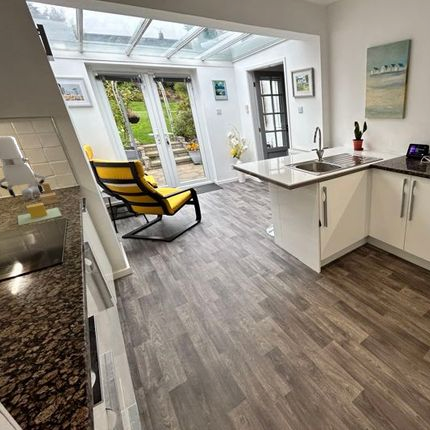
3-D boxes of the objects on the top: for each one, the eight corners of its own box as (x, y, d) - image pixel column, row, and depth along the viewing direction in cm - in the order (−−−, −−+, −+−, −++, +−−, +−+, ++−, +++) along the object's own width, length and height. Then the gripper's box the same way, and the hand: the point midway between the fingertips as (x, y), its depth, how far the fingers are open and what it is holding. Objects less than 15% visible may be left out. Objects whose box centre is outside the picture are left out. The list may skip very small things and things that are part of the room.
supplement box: (48, 198, 171) (41, 184, 167) (47, 197, 173) (41, 183, 169) (55, 197, 173) (48, 182, 169) (54, 196, 175) (48, 182, 171)
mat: (18, 216, 142) (17, 215, 142) (57, 208, 153) (57, 207, 153) (18, 225, 130) (18, 225, 130) (62, 216, 141) (61, 215, 140)
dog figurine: (47, 194, 181) (41, 179, 177) (32, 199, 170) (25, 183, 166) (38, 194, 180) (31, 179, 176) (23, 200, 169) (15, 184, 165)
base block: (42, 202, 163) (39, 195, 161) (57, 199, 168) (54, 192, 166) (43, 205, 159) (39, 197, 157) (59, 202, 164) (55, 194, 162)
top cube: (31, 215, 141) (26, 205, 139) (46, 212, 145) (42, 202, 143) (32, 218, 137) (26, 207, 135) (47, 215, 141) (43, 204, 139)
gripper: (37, 158, 138) (50, 189, 145) (-13, 163, 127) (3, 197, 133) (38, 160, 134) (51, 192, 140) (-14, 165, 122) (3, 200, 128)
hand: (28, 194), depth 137 cm, fingers open, 9 cm apart
